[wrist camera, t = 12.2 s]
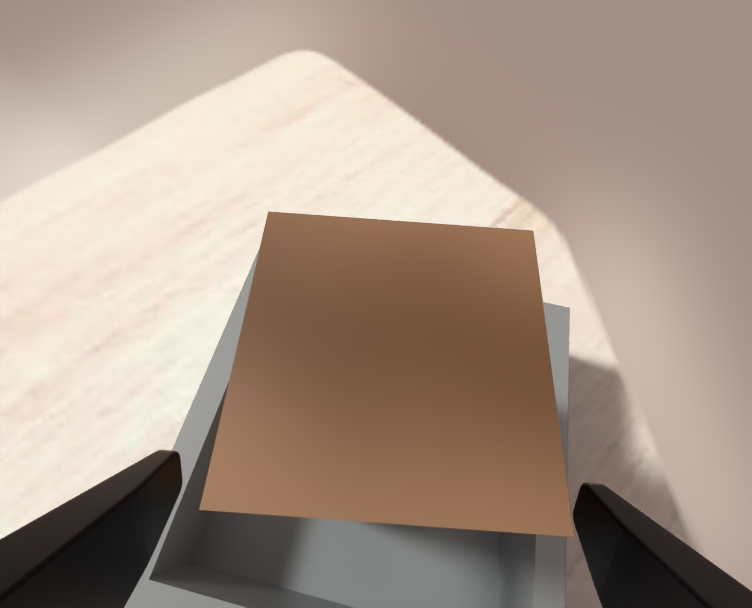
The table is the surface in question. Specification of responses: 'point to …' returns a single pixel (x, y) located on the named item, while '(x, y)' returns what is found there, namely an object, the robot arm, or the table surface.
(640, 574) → the robot arm
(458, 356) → the walnut block
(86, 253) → the table surface
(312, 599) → the box
